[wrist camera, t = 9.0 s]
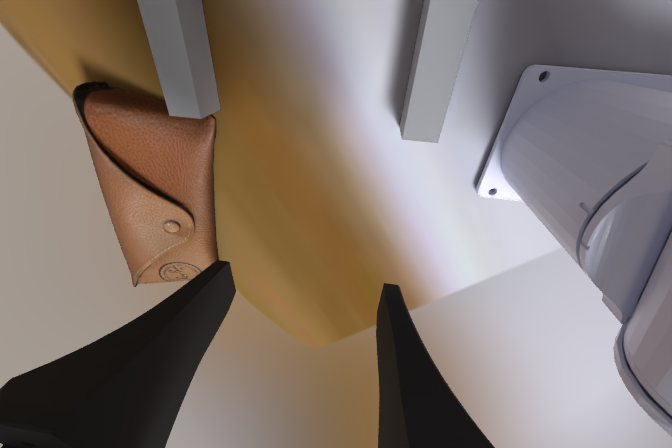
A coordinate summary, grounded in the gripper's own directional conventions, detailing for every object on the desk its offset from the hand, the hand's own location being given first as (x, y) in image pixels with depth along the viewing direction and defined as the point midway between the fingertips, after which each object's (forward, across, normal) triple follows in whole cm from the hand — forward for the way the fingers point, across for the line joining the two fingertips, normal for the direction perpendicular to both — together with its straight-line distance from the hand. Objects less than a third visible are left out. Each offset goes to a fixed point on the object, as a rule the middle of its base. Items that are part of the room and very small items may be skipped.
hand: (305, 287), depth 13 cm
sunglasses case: (+11, +14, +3) cm, 18 cm away
